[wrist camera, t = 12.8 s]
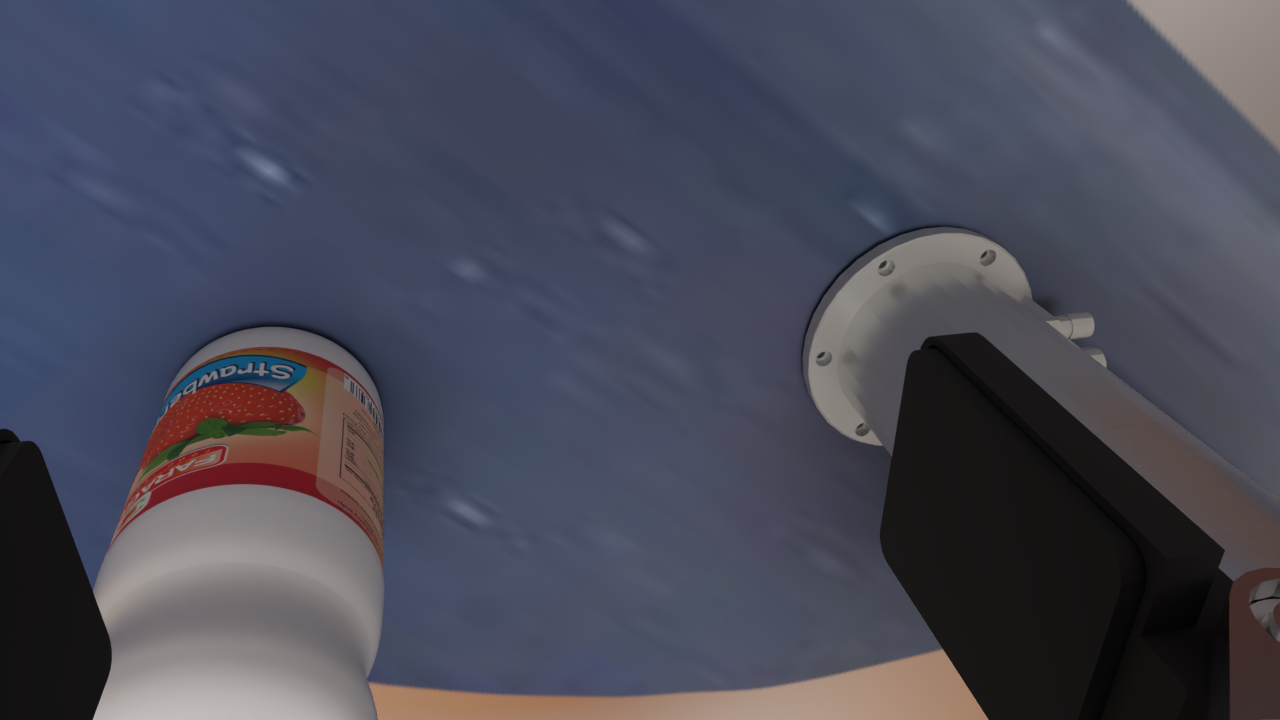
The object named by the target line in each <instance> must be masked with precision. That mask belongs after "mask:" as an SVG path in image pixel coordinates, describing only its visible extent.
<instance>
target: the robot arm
mask: <svg viewBox="0 0 1280 720" xmlns="http://www.w3.org/2000/svg"><path fill="white" fill-rule="evenodd" d="M1094 325H1095V323H1094V320H1093V317H1092V316H1091V315H1090V313H1088V312H1085V311H1082V312H1073V313H1065V314H1062V315H1059V316H1053V315H1051V314H1050V313H1049V312H1047V311H1046V310H1045V309H1043V308H1042V307H1041V306H1039V305H1038V304H1037V303H1036V302H1034V301H1033V300H1032V294H1031V288H1030V286H1029V283H1028V280H1027V277H1026V275H1025V272H1024V271H1023V269H1022V268H1021V266H1020V265H1019V264H1018V262H1017V261H1016V259H1015V258H1014V257H1013V256H1012V255H1011V254H1009V253H1008V252H1007V251H1006V250H1005V249H1004V248H1002V247H1001V246H1000V245H998V244H997V243H995V242H994V241H992V240H991V239H989V238H987V237H986V236H984V235H982V234H979V233H976V232H973V231H970V230H967V229H962V228H952V227H936V228H925V229H920V230H916V231H913V232H909V233H906V234H902V235H899V236H897V237H895V238H893V239H891V240H889V241H887V242H884V243H882V244H880V245H878V246H877V247H875V248H874V249H872V250H871V251H869V252H868V253H866V254H865V255H863V256H862V257H860V258H859V259H857V260H856V261H855V262H854V263H853V264H852V265H851V266H850V267H849V268H848V269H847V270H846V271H845V272H843V273H842V274H841V275H840V276H839V277H838V279H837V280H836V281H835V282H834V284H833V285H832V286H831V288H830V289H829V290H828V291H827V293H826V294H825V295H824V297H823V299H822V300H821V302H820V304H819V306H818V308H817V309H816V311H815V313H814V315H813V317H812V320H811V323H810V325H809V328H808V331H807V334H806V337H805V343H804V350H803V357H802V359H803V377H804V380H805V383H806V387H807V390H808V394H809V396H810V397H811V399H812V401H813V402H814V404H815V406H816V408H817V409H818V410H819V412H820V413H821V414H822V416H823V417H824V418H825V419H826V421H827V422H828V423H829V424H830V425H831V426H833V427H834V428H835V429H836V430H838V431H839V432H840V433H841V434H843V435H845V436H847V437H849V438H851V439H853V440H855V441H858V442H862V443H866V444H871V445H875V446H884V447H885V449H886V450H887V451H888V452H889V454H890V455H891V456H892V460H891V466H890V472H889V479H888V485H887V491H886V498H885V504H884V510H883V516H882V523H881V529H880V541H881V547H882V551H883V554H884V557H885V559H886V561H887V563H888V565H889V566H890V568H891V569H892V571H893V572H894V574H895V575H896V577H897V579H898V580H899V582H900V583H901V585H902V586H903V588H904V589H905V591H906V592H907V594H908V596H909V597H910V599H911V600H912V602H913V603H914V605H915V606H916V608H917V609H918V611H919V613H920V614H921V616H922V617H923V619H924V620H925V622H926V623H927V625H928V626H929V628H930V630H931V631H932V633H933V634H934V636H935V637H936V639H937V640H938V642H939V643H940V645H941V647H942V648H943V650H944V651H945V653H946V654H947V656H948V657H949V659H950V660H951V662H952V663H953V665H954V667H955V668H956V670H957V671H958V673H959V674H960V676H961V677H962V679H963V680H964V682H965V684H966V685H967V687H968V688H969V690H970V691H971V693H972V694H973V696H974V697H975V699H976V700H977V702H978V704H979V705H980V707H981V708H982V710H983V711H984V713H985V715H986V716H987V718H988V719H989V720H1280V499H1279V498H1277V497H1276V496H1274V495H1273V494H1272V493H1270V492H1269V491H1268V490H1266V489H1265V488H1263V487H1262V486H1261V485H1259V484H1258V483H1256V482H1255V481H1254V480H1252V479H1251V478H1249V477H1248V476H1247V475H1245V474H1244V473H1242V472H1241V471H1240V470H1238V469H1237V468H1236V467H1234V466H1233V465H1232V464H1230V463H1229V462H1228V461H1226V460H1225V459H1224V458H1222V457H1221V456H1220V455H1218V454H1217V453H1216V452H1214V451H1213V450H1212V449H1211V448H1209V447H1208V446H1207V445H1205V444H1204V443H1203V442H1201V441H1200V440H1199V439H1198V438H1196V437H1195V436H1194V435H1192V434H1191V433H1190V432H1188V431H1187V430H1186V429H1185V428H1183V427H1182V426H1181V425H1179V424H1178V423H1177V422H1175V421H1174V420H1173V419H1172V418H1170V417H1169V416H1168V415H1166V414H1165V413H1164V412H1163V411H1161V410H1160V409H1159V408H1157V407H1156V406H1155V405H1153V404H1152V403H1151V402H1150V401H1148V400H1147V399H1146V398H1144V397H1143V396H1142V395H1141V394H1139V393H1138V392H1137V391H1135V390H1134V389H1133V388H1131V387H1130V386H1129V385H1128V384H1126V383H1125V382H1124V381H1122V380H1121V379H1120V378H1119V377H1117V376H1116V375H1115V374H1113V373H1112V372H1111V371H1109V370H1108V369H1107V368H1106V360H1105V357H1104V354H1103V353H1102V351H1101V350H1100V349H1099V348H1097V347H1094V346H1088V347H1078V346H1077V345H1076V344H1075V343H1073V342H1072V341H1071V340H1072V339H1081V338H1088V337H1090V336H1091V335H1092V334H1093V332H1094ZM111 663H112V648H111V641H110V637H109V634H108V631H107V629H106V626H105V623H104V620H103V618H102V615H101V612H100V610H99V607H98V604H97V602H96V599H95V596H94V593H93V591H92V588H91V585H90V583H89V580H88V577H87V575H86V572H85V569H84V566H83V564H82V561H81V558H80V556H79V553H78V550H77V548H76V545H75V542H74V539H73V537H72V534H71V531H70V529H69V526H68V523H67V520H66V518H65V515H64V512H63V510H62V507H61V504H60V502H59V499H58V496H57V493H56V491H55V488H54V485H53V483H52V480H51V477H50V475H49V472H48V469H47V466H46V464H45V461H44V458H43V456H42V453H41V451H40V449H39V447H38V446H37V445H36V444H35V443H34V442H31V441H23V442H20V441H19V439H18V437H17V436H16V435H15V434H14V433H13V432H12V431H10V430H7V429H0V720H93V718H94V715H95V712H96V710H97V707H98V704H99V701H100V699H101V696H102V693H103V690H104V688H105V685H106V682H107V679H108V677H109V673H110V670H111Z"/></svg>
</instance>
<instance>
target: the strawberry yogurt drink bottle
mask: <svg viewBox="0 0 1280 720" xmlns="http://www.w3.org/2000/svg"><path fill="white" fill-rule="evenodd" d="M383 562H384V417H383V410H382V406H381V402H380V398H379V394H378V392H377V389H376V387H375V385H374V383H373V381H372V379H371V377H370V376H369V374H368V373H367V371H366V370H365V369H364V367H363V366H362V365H361V364H360V363H359V362H358V361H357V360H356V359H355V358H354V357H353V356H352V355H351V354H350V353H349V352H347V351H346V350H345V349H343V348H342V347H340V346H339V345H337V344H336V343H334V342H332V341H330V340H328V339H326V338H324V337H322V336H319V335H316V334H314V333H310V332H307V331H303V330H299V329H294V328H287V327H258V328H251V329H246V330H241V331H237V332H234V333H231V334H228V335H226V336H223V337H221V338H219V339H217V340H215V341H213V342H211V343H210V344H208V345H207V346H205V347H204V348H202V349H201V350H200V351H198V352H197V353H196V354H195V355H193V356H192V357H191V358H190V359H189V360H188V361H187V362H186V363H185V365H184V366H183V367H182V368H181V370H180V371H179V373H178V374H177V376H176V377H175V378H174V380H173V382H172V383H171V385H170V387H169V389H168V392H167V394H166V397H165V399H164V402H163V405H162V407H161V410H160V413H159V415H158V418H157V421H156V423H155V426H154V429H153V431H152V434H151V437H150V439H149V442H148V445H147V447H146V450H145V453H144V455H143V458H142V461H141V463H140V466H139V469H138V471H137V474H136V477H135V479H134V482H133V485H132V488H131V490H130V493H129V496H128V498H127V501H126V504H125V506H124V509H123V512H122V514H121V517H120V520H119V523H118V525H117V528H116V531H115V533H114V536H113V539H112V541H111V544H110V547H109V549H108V551H107V554H106V556H105V558H104V561H103V563H102V566H101V568H100V571H99V574H98V577H97V580H96V583H95V587H94V590H93V593H94V596H95V599H96V602H97V604H98V607H99V610H100V612H101V615H102V618H103V620H104V623H105V626H106V629H107V631H108V634H109V637H110V641H111V648H112V663H111V670H110V673H109V677H108V679H107V682H106V685H105V688H104V690H103V693H102V696H101V699H100V701H99V704H98V707H97V710H96V712H95V715H94V718H93V720H378V719H377V712H376V708H375V704H374V700H373V696H372V692H371V689H370V687H369V684H368V681H367V677H368V675H369V673H370V671H371V668H372V666H373V663H374V660H375V658H376V654H377V650H378V646H379V641H380V635H381V628H382V619H383V606H384V569H383Z"/></svg>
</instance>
